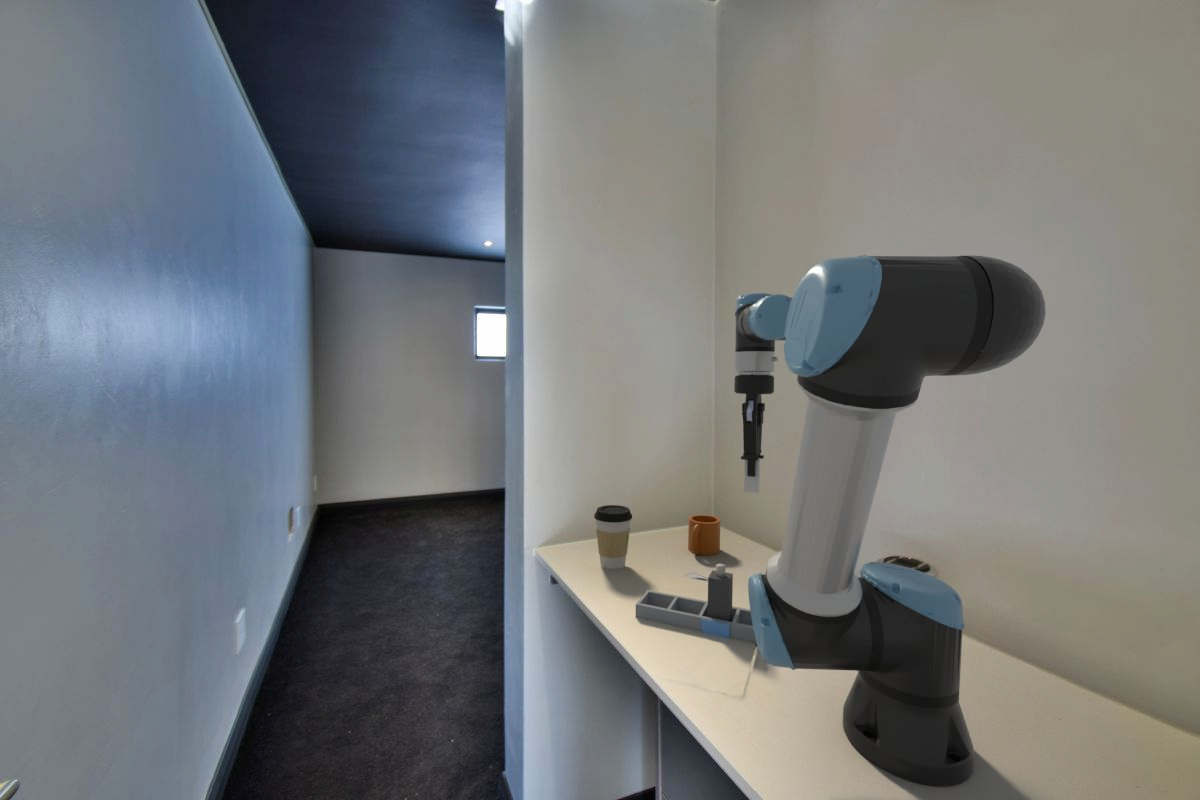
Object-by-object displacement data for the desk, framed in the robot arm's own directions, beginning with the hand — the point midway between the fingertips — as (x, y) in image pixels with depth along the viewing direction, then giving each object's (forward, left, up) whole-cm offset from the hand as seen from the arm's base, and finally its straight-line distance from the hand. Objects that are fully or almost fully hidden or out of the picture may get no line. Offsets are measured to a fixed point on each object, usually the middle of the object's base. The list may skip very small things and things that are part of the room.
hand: (751, 491), depth 100 cm
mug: (+35, +18, -27) cm, 48 cm away
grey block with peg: (-6, +5, -26) cm, 27 cm away
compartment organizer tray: (-6, +8, -26) cm, 28 cm away
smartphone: (+10, +16, -27) cm, 33 cm away
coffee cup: (+14, +36, -27) cm, 47 cm away
